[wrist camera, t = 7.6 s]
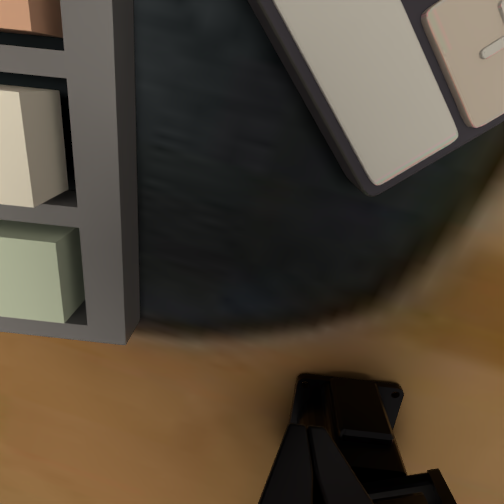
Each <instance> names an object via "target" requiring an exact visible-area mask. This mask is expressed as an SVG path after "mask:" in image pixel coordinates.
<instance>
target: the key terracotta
mask: <svg viewBox="0 0 504 504" xmlns="http://www.w3.org/2000/svg"><path fill="white" fill-rule="evenodd" d="M0 32H7V33H17V34H27V35H37V36H47V37H56V38H63V29H62V18H61V6H60V0H0Z"/></svg>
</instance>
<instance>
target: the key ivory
mask: <svg viewBox="0 0 504 504" xmlns="http://www.w3.org/2000/svg"><path fill="white" fill-rule="evenodd" d="M68 189H69V188H68V178H67V167H66V156H65V145H64V134H63V123H62V112H61V101H60V91H59V90H51V89H41V88H31V87H22V86H12V85H2V84H0V204H4V205H13V206H23V207H32V208H34V207H36V206H38V205H40V204H42V203H44V202H46V201H47V200H49V199H51V198H53V197H55V196H57V195H59V194H61V193H63V192H64V191H66V190H68Z"/></svg>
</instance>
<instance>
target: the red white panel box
mask: <svg viewBox="0 0 504 504" xmlns="http://www.w3.org/2000/svg"><path fill="white" fill-rule="evenodd" d="M247 1H248V2H249V4H250V6H251V8H252V10H253V11H254V13H255V15H256V17H257V18H258V20H259V22H260V24H261V26H262V27H263V29H264V31H265V33H266V35H267V36H268V38H269V40H270V42H271V43H272V45H273V47H274V49H275V51H276V52H277V54H278V56H279V58H280V60H281V61H282V63H283V65H284V67H285V68H286V70H287V72H288V74H289V76H290V77H291V79H292V81H293V83H294V85H295V86H296V88H297V90H298V92H299V93H300V95H301V97H302V99H303V101H304V102H305V104H306V106H307V108H308V109H309V111H310V113H311V115H312V117H313V118H314V120H315V122H316V124H317V126H318V127H319V129H320V131H321V133H322V134H323V136H324V138H325V140H326V142H327V143H328V145H329V147H330V149H331V150H332V152H333V154H334V156H335V158H336V159H337V161H338V163H339V165H340V167H341V168H342V170H343V172H344V174H345V175H346V177H347V178H348V179H349V180H350V181H351V182H352V183H353V184H354V185H355V186H356V187H357V188H358V189H359V190H360V191H361V192H363V193H364V194H365V195H367V196H370V197H373V196H376V195H379V194H380V193H382V192H384V191H386V190H387V189H389V188H391V187H393V186H394V185H396V184H398V183H399V182H401V181H403V180H404V179H406V178H408V177H410V176H411V175H413V174H415V173H416V172H418V171H420V170H421V169H423V168H425V167H427V166H428V165H430V164H432V163H433V162H435V161H437V160H438V159H440V158H442V157H444V156H445V155H447V154H449V153H450V152H452V151H454V150H456V149H457V148H459V147H461V146H462V145H464V144H466V143H467V142H469V141H471V140H473V139H474V138H476V137H478V136H479V135H481V134H483V133H484V132H486V131H488V130H490V129H491V128H493V127H495V126H496V125H498V124H500V123H502V122H503V121H504V0H247Z"/></svg>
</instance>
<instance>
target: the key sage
mask: <svg viewBox="0 0 504 504" xmlns="http://www.w3.org/2000/svg"><path fill="white" fill-rule="evenodd" d="M84 300H85V290H84V278H83V266H82V254H81V243H80V231H79V228H76V227H66V226H57V225H48V224H38V223H29V222H19V221H10V220H1V219H0V316H1V317H10V318H19V319H28V320H37V321H47V322H56V323H65V322H66V321H67V320H68V319H69V318H70V316H71V315H72V314H73V313H74V312H75V311H76V309H77V308H78V307H79V306H80V305H81V304H82V302H83V301H84Z"/></svg>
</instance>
